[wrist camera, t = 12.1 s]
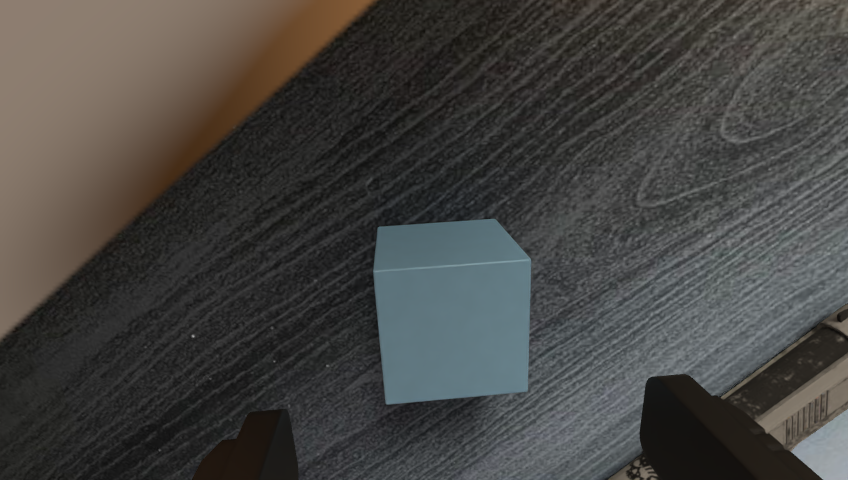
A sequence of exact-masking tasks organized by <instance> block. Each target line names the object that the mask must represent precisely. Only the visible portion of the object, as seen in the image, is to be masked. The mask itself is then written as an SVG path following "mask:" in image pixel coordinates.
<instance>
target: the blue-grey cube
mask: <svg viewBox="0 0 848 480" xmlns="http://www.w3.org/2000/svg"><path fill="white" fill-rule="evenodd" d="M373 277H374V288H375V298H376V309H377V319H378V330H379V341H380V351H381V362H382V372H383V383H384V393H385V403H386V404H387V405H389V404H400V403H411V402H422V401H433V400H444V399H455V398H466V397H477V396H488V395H499V394H510V393H521V392H527V391H528V364H529V326H530V289H531V259H530V258H529V257H528V255H527V254H526V253H525V252H524V251H523V250H522V249H521V247H520V246H519V245H518V244H517V243H516V242H515V241H514V240H513V238H512V237H511V236H510V235H509V234H508V233H507V232H506V230H505V229H504V228H503V227H502V226H501V225H500V224H499V223H498V221H497V220H496V219H483V220H469V221H454V222H440V223H426V224H411V225H397V226H383V227H378V229H377V239H376V249H375V258H374V268H373Z"/></svg>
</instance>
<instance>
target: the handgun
mask: <svg viewBox="0 0 848 480" xmlns="http://www.w3.org/2000/svg"><path fill="white" fill-rule="evenodd" d="M721 399H723V400H725V401H727V402H729V403H730V404H732V405H734V406H736V407H738V408H740V409H741V410H743V411H744V412H746V413H747V414H748V415H749V416H750V417H751V418H752V419H754V420H755V421H756V422H757V423H758V424H759V425H760V426H762V427H763V428H764V429H765V432H766V433H767V434H768V433H770V434H771V435H772V436H773V437H774V438H775V439H777V440H778V441H779V442H780V443H781V444H782V445H784V449H785V450H789V451H790V452H791V451H792V450H793V449H794V447H795V446H796V445H797V444H798V443H800V442H801V441H803V440H804V439H806V438H807V437H808V436H810V435H811V434H813V433H814V432H816V431H817V430H818V429H820V428H821V427H823V426H824V425H825V424H827V423H828V422H830V421H831V420H833V419H834V418H835V417H837V416H838V415H840V414H841V413H842V412H844V411H845V410H847V409H848V304H845V305H844V306H842V307H841V308H840V309H838V310H837V311H836V312H834V313H833V314H831V315H830V316H829V317H827V318H826V319H825V320H823V321H822V322H821V323H819V324H818V325H817V327H816V328H814V329H813V330H812V331H810V332H809V333H807V334H806V335H805V336H803V337H802V338H801V339H799V340H798V341H797V342H795V343H794V344H793V345H791V346H790V347H788V348H787V349H786V350H784V351H783V352H782V353H780V354H779V355H778V356H776V357H775V358H773V359H772V360H771V361H769V362H768V363H767V364H765V365H764V366H763V367H761V368H760V369H759V370H757V371H756V372H754V373H753V374H752V375H750V376H749V377H748V378H746V379H745V380H744V381H742V382H741V383H740V384H738V385H737V386H735V387H734V388H733V389H731V390H730V391H729V392H727V393H726V394H725V395H723V396H722V397H721ZM608 480H660V478H659V477H658V475H657V474H656V473H655V471H654V470H653V469H652V467H651V466H650V464H649V463H648V461H647V459H646V457H645V455H644V453H643V454H642V455H640V456H639V457H637V458H636V459H635V460H633V461H632V462H631V463H629V464H628V465H627V466H625V467H624V468H623V469H621V470H620V471H619V472H617V473H616V474H614V475H613V476H612V477H610V478H609V479H608Z"/></svg>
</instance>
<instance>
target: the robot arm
mask: <svg viewBox="0 0 848 480" xmlns="http://www.w3.org/2000/svg"><path fill="white" fill-rule="evenodd" d="M640 442H641V446H642V450H643V453H644V455H645V457H646V459H647V461H648V463H649V464H650V466H651V467H652V469H653V470H654V471H655V473H656V474H657V475H658V477H659V478H660V480H823V479H821V478H820V477H819V476H818V475H817V474H816V473H815V472H813V471H812V470H811V469H810V468H809V467H808V466H807V465H805V464H804V463H803V462H802V461H801V460H800V459H798V458H797V457H796V456H795V455H794V454H793V453H792V452H790V451H789V450H785V449H784V445H782V444H781V443H780V442H779V441H778V440H777V439H775V438H774V437H773V436H772V435H771V434H770V433H768V434H767V433H766V432H765V429H764V428H763V427H762V426H760V425H759V424H758V423H757V422H756V421H755V420H754V419H752V418H751V417H750V416H749V415H748V414H747V413H746V412H744V411H743V410H741V409H740V408H738V407H736V406H734V405H732V404H730V403H729V402H727V401H725V400H723V399H721V398H720V397H718V396H711V395H710V394H709V393H708V392H707V391H706V390H705V389H704V388H703V387H701V386H700V385H699V384H698V383H697V382H696V381H695V380H694V379H693V378H691V377H690V376H688V375H686V374H679V375H668V376H657V377H650V378H649V379H648V380H647V383H646V387H645V395H644V403H643V411H642V419H641V427H640ZM192 480H298V462H297V457H296V451H295V445H294V439H293V433H292V428H291V422H290V416H289V413H288V411H287V409H278V410H266V411H255V412H250V413H249V414H248V415H247V417H246V419H245V421H244V424H243V426H242V428H241V430H240V432H239V435H238V437H237V439H231V440H222V441H221V442H220V443H219V444H218V445H217V446H216V447H215V448H214V449H213V450H212V451H211V452H210V453H209V454H208V455H207V456H206V457H205V458H204V459H203V460H202V461H201V463H200V465H199V467H198V469H197V471H196V473H195V475H194V477H193V478H192Z"/></svg>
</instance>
